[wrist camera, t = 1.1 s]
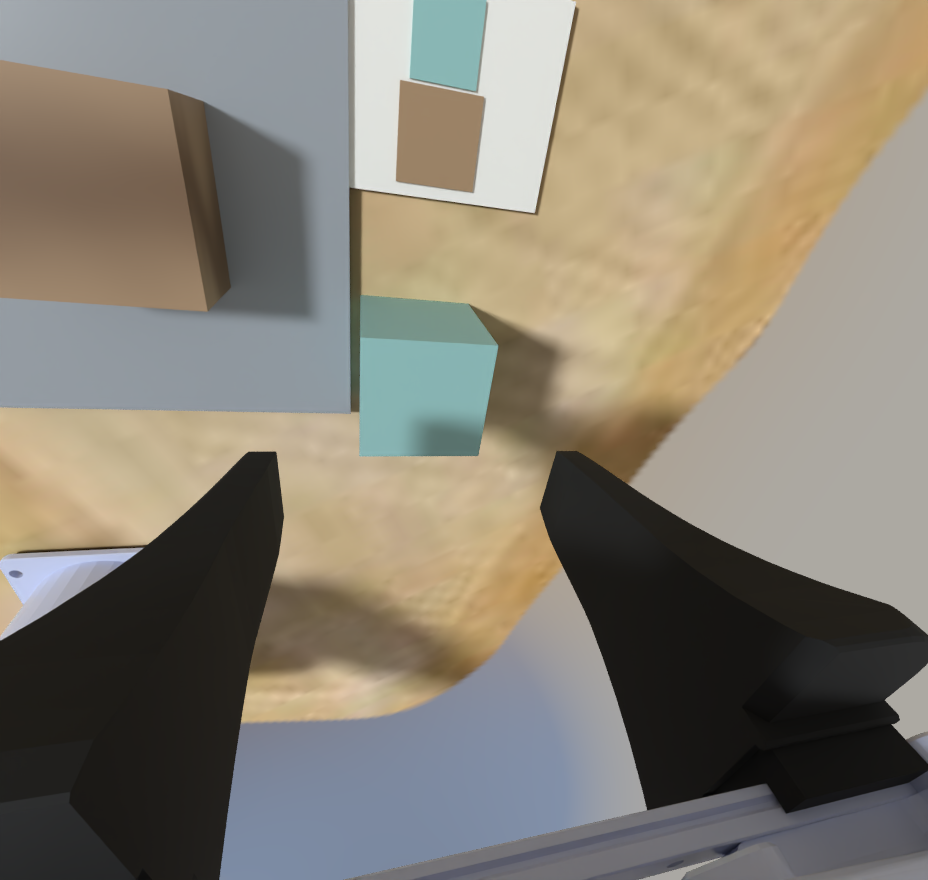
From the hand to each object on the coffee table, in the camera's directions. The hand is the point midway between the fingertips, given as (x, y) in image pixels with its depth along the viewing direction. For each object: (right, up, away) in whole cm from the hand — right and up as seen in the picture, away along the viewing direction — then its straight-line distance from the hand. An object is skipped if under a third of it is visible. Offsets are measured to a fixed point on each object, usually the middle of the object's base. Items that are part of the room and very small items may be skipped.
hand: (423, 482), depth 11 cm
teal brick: (-1, +5, +8) cm, 10 cm away
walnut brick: (-10, +9, +3) cm, 14 cm away
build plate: (-10, +8, +3) cm, 14 cm away
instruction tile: (0, +13, +3) cm, 13 cm away
